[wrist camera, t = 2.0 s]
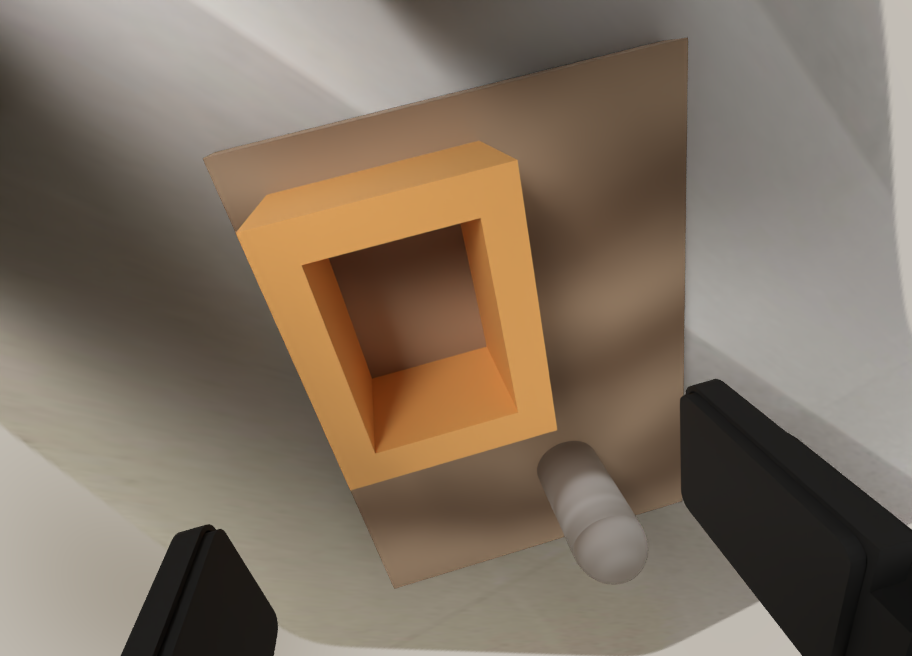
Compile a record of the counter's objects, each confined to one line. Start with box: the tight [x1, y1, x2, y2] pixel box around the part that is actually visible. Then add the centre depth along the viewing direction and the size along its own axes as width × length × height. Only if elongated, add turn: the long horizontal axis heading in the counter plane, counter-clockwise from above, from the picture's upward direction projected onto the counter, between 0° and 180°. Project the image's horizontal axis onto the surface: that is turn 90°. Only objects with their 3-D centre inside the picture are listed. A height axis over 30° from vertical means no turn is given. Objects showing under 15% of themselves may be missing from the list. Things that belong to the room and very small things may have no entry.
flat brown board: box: [203, 38, 688, 589], centre depth 19 cm, size 22×16×8 cm
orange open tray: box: [236, 141, 557, 491], centre depth 16 cm, size 9×7×4 cm
